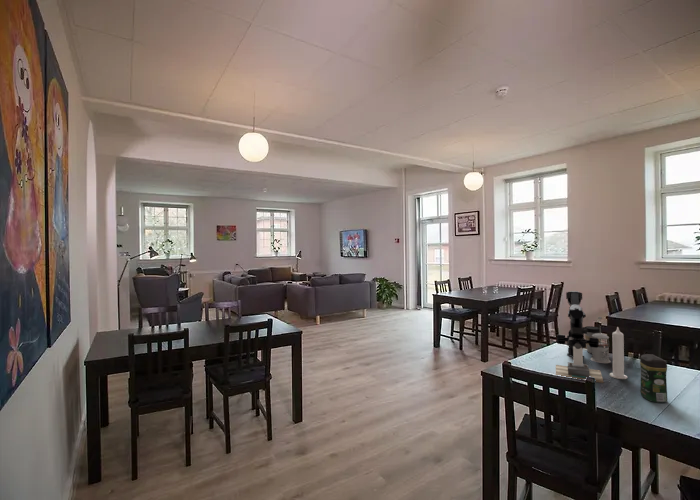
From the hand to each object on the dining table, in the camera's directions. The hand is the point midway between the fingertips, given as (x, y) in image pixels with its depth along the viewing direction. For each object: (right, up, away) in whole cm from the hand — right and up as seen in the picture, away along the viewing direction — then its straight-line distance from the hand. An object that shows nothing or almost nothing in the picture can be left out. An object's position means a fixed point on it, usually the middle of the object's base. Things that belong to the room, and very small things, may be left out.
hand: (577, 355), depth 187 cm
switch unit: (0, -10, -1) cm, 10 cm away
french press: (+26, -9, +20) cm, 34 cm away
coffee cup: (+31, -8, +34) cm, 47 cm away
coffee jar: (+13, -10, -31) cm, 35 cm away
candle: (+17, -9, -5) cm, 20 cm away
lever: (0, -5, -1) cm, 5 cm away
